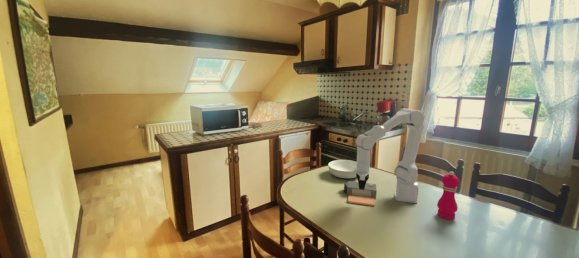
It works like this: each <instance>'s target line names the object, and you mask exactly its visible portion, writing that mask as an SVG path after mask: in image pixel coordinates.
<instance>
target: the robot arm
mask: <svg viewBox="0 0 579 258" xmlns="http://www.w3.org/2000/svg"><path fill="white" fill-rule="evenodd" d="M425 117H426V115H424V113H423V112H422V111H421V110H419V109H411V108H407V107H403V108H401V109H400V110H398V111H397V112H396V113H395V115H393V116H392V117H391V118H389V119H388V120H386V121H385V122H384V123H383V124H381V125H378V124H377V125H373V126H372V128H370V130H368V131H365V132H364V133H363V134H359V135H358V136H357V137H356V139H355V140H354V143H355V145H356V149H357V151H356V162H357V166H356V169H354V172H357V173H356V177H355V179H356V180H357V182H358V184H359V189H360V190H364V188H365V185H366V183H368V180H369V179H370V176H369V175H370V172H371V170H370V164H371V163H370V162H371V149H373V147H374V146H375V143H376V142H378V141H379V140H380V139H381V140H382V138H384V137H385V136H387V132H389V130H391V129H393V128H395V127H396V126H398V125H400V124H405V125H406V126H407V128H408V129H409V131H408V134H407V140H406V143H405V147H404V151H403V155H402V160H401V161H399V162H397V165H396V167H395V168H394V171H393V172H394V176H395V177H396V187H395V188H396V189H395V192H394V193H393V194H394V195H393V196H394V199H395V201H397V202H404V203H405V202H406V203H413V204H418V199H419V198H418V197H419V183H418V182H417V181H418V178H419V174H418V170H419V169H418V167H417V165H416V159H417V156H418V152H419V149H420V145H421V144H420V143H421V139H422V135H423V133H424V132H423V131H424V121H425Z"/></svg>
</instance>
